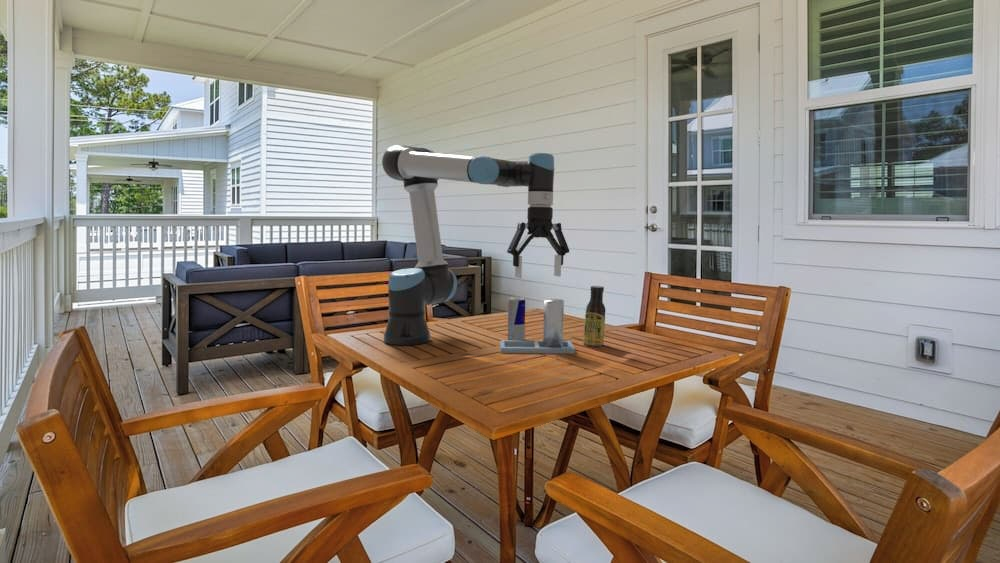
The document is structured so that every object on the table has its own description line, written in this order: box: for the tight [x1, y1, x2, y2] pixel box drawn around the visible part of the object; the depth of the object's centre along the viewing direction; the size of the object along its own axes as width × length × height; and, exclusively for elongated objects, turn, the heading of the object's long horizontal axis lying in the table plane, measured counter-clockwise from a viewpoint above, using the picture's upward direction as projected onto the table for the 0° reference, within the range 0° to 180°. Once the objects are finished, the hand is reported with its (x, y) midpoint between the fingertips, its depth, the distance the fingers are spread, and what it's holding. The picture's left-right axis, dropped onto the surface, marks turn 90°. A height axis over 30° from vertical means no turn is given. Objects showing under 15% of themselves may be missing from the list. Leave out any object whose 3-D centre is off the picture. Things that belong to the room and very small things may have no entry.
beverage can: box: [507, 296, 526, 341], centre depth 177 cm, size 6×6×15 cm
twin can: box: [542, 298, 565, 348], centre depth 165 cm, size 6×6×15 cm
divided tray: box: [499, 339, 576, 354], centre depth 166 cm, size 22×10×3 cm, turn 91°
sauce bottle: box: [583, 285, 606, 348], centre depth 171 cm, size 6×6×20 cm
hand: (538, 276), depth 166 cm, fingers open, 13 cm apart
